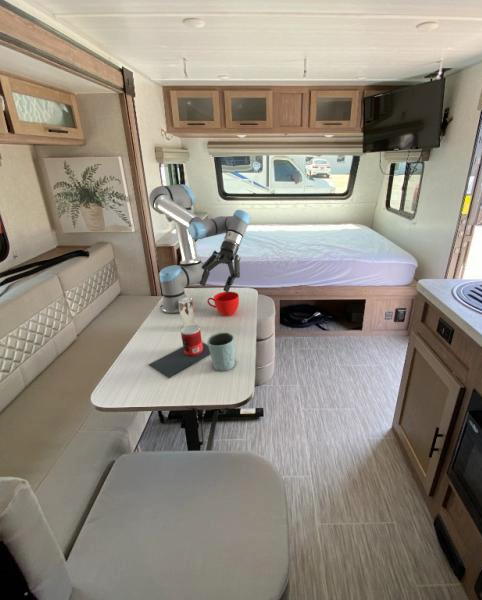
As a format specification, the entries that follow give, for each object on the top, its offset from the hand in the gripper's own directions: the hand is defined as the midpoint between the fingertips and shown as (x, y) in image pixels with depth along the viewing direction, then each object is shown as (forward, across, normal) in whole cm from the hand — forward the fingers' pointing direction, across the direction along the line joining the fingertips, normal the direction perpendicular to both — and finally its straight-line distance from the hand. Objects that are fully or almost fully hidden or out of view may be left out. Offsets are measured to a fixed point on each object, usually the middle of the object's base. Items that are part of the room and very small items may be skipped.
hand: (213, 288), depth 139 cm
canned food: (+28, -1, +4) cm, 28 cm away
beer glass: (+19, -19, +16) cm, 32 cm away
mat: (+31, -2, +1) cm, 32 cm away
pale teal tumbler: (+28, +17, +4) cm, 33 cm away
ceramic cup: (+6, -15, +33) cm, 36 cm away
